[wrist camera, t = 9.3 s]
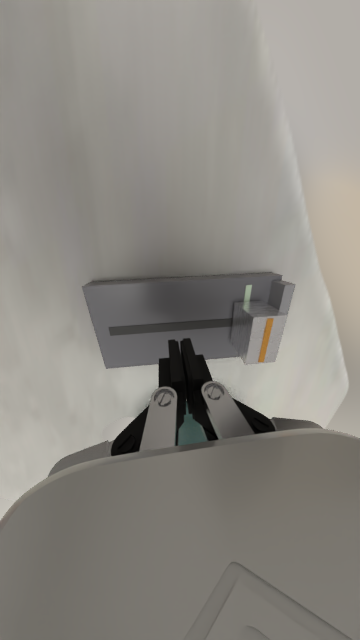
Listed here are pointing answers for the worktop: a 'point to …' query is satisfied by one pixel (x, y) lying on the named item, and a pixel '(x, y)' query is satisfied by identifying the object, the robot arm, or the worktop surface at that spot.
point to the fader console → (175, 313)
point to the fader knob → (257, 331)
